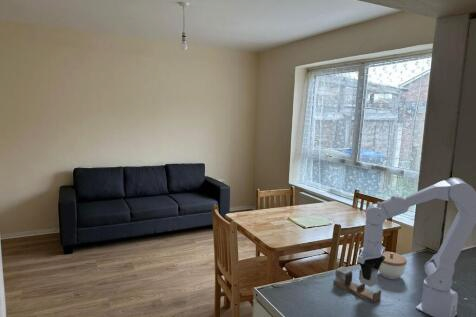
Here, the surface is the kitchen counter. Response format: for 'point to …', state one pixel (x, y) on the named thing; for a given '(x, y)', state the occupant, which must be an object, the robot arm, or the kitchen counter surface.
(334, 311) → the kitchen counter surface
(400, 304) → the kitchen counter surface
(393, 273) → the lidded jar
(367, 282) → the block
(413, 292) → the kitchen counter surface
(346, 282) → the rail
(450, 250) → the robot arm
